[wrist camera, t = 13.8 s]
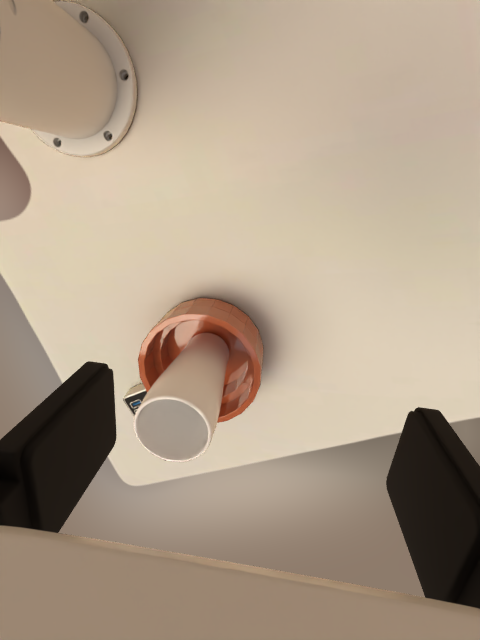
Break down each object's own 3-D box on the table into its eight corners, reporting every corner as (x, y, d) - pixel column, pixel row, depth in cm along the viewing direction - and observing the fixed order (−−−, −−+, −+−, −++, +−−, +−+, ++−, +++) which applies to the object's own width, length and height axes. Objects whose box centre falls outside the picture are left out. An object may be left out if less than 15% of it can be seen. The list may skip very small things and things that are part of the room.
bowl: (135, 333, 43) (113, 354, 37) (220, 275, 39) (210, 289, 33) (200, 410, 46) (188, 441, 40) (284, 364, 42) (284, 390, 36)
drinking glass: (186, 376, 43) (141, 463, 29) (177, 327, 41) (123, 396, 27) (239, 374, 42) (217, 463, 28) (232, 323, 40) (205, 394, 26)
